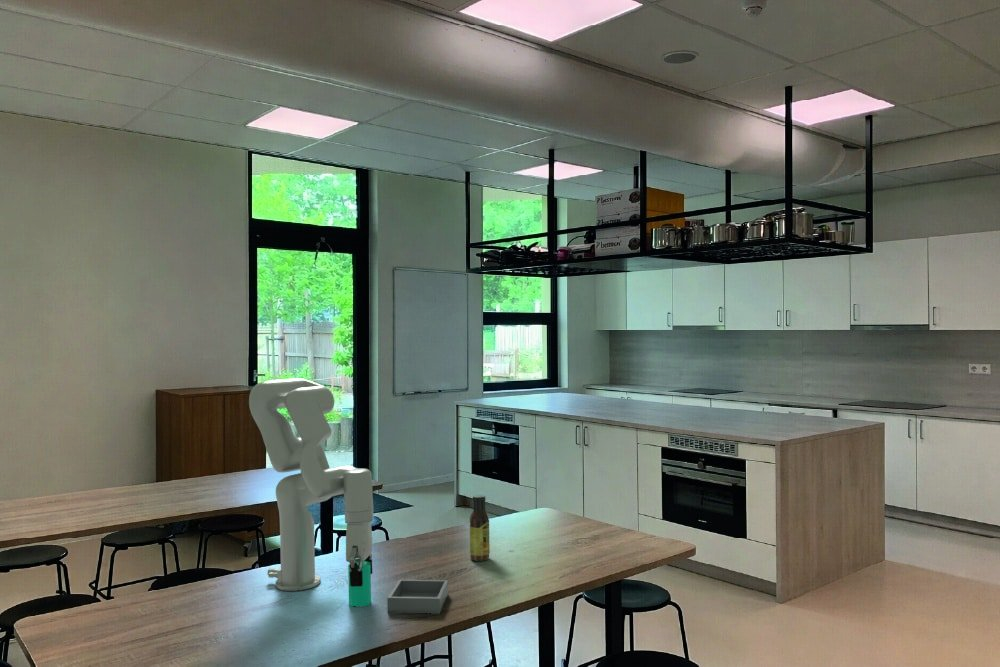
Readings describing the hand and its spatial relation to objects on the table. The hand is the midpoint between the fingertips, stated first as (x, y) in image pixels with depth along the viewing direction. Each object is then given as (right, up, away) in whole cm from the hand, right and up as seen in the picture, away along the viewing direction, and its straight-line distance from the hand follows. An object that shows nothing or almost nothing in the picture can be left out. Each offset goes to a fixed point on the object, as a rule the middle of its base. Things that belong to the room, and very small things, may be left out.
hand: (361, 579), depth 196 cm
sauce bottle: (+31, -6, +37) cm, 48 cm away
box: (+15, -6, -1) cm, 17 cm away
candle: (-1, -7, +1) cm, 7 cm away
